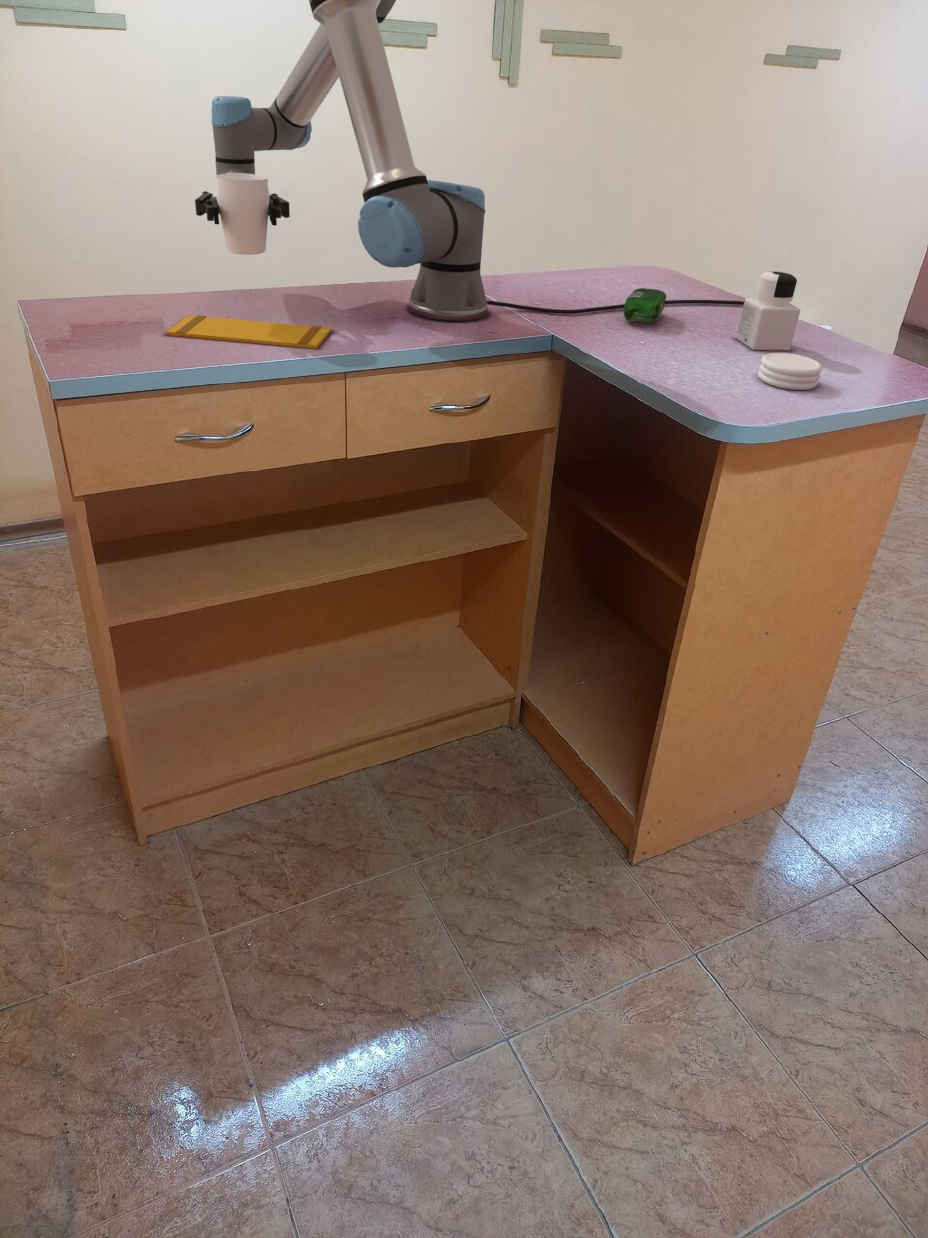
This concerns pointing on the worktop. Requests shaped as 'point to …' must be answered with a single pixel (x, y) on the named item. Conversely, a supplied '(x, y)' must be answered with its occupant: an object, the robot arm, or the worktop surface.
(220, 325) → the towel
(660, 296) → the snack package
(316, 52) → the robot arm
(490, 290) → the worktop surface
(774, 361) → the coaster
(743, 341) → the container
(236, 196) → the cup
